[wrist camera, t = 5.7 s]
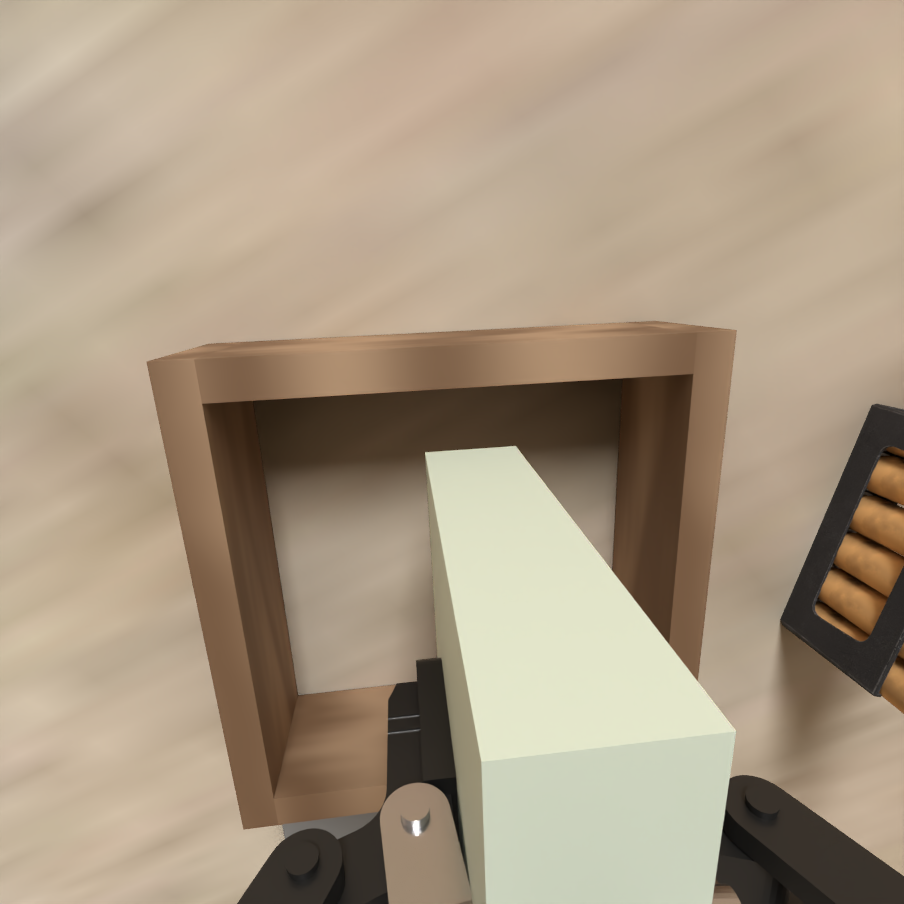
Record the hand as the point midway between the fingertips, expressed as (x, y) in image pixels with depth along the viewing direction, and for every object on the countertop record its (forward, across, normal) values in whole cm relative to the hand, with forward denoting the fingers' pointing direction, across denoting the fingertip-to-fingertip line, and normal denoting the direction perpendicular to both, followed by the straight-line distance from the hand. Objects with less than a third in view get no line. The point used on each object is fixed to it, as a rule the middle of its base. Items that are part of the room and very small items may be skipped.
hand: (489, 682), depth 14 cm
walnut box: (+9, 0, 0) cm, 9 cm away
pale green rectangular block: (+3, 0, 0) cm, 3 cm away
